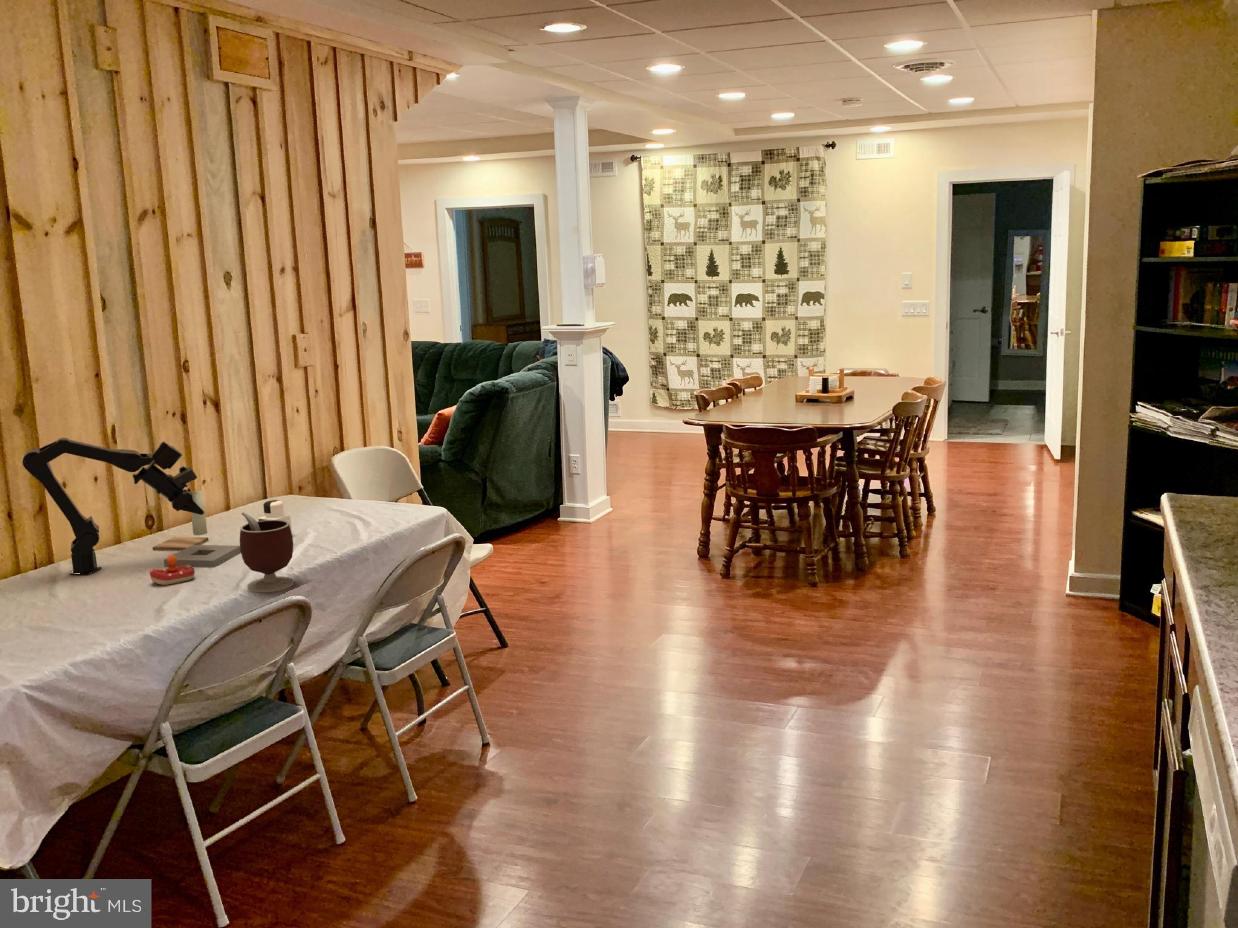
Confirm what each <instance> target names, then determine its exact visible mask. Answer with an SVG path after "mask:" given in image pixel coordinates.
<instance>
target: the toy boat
mask: <svg viewBox="0 0 1238 928" xmlns="http://www.w3.org/2000/svg"><path fill="white" fill-rule="evenodd" d="M176 563H177V558H176V557H175V556H172V555H168V556H167V564H168V565H169V566H167V568H164V569H157V568H151V569H150V571H149V576H150V579H151V581H152V582H153V583H155V584H158V585H162V586H169V584H170V585H174V583H175V584H180V583H185V582H189V581H191V580H193V578H194V577H195V574H196V571H195V567H192V566H190V565H186V566H175V565H176ZM184 581H185V582H184Z"/></svg>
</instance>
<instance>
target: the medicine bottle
mask: <svg viewBox="0 0 1238 928" xmlns="http://www.w3.org/2000/svg"><path fill="white" fill-rule="evenodd" d="M284 512H285V510H284V502H283V501H282V500H279V499H278V500H277V499H275V500H273V499H271V500H267V501H265V502H264V503H263V514H264V515H263V516H259V517H258V521H264V520H284V521H287V522H289V526H290V529H291V533H292V534H293V531H292V520H291V514H286V513H284Z"/></svg>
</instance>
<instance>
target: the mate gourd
mask: <svg viewBox="0 0 1238 928" xmlns="http://www.w3.org/2000/svg"><path fill="white" fill-rule="evenodd" d="M241 515H242V516H243V517H244V519H246V521H247V523H245V524H244V525H242V526H241V527H240V532H239V546H240V550H241V552H240V553H241V554H240V555H241V558H242V560H243V561H242V562H243V563H244V564H245V565H246V567H247V568H249V569H250V571H253V572H256V573H261V574H263V575H264V576H263V578H259V579H255V580H252V581H250V582H249V583H248V584H247V585H246V586H247V590H248V591H249V592H253V593H272V592H279V591H282V590H286V589H289V588H290V587H292V586H293V585H294V582H295V581H294V579H293V578H292V577H289V576H283V575H282V576H279V575H278V576H277V575H276V573H277V572H278V571H280V570H282V569H284V568H286V567H287V566H288V565H289V563H290V561H291V560H292V558H293V554H294V553H293V552H294V538H293V532H292V533H291V529H292V528H291V529H290V526H289V522H287V521H284V520H264V521H259V520H258V521H257V520H256V519H255V518H254V517H252V516H251V515H249V514H247V513H246V512H242V513H241Z"/></svg>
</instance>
